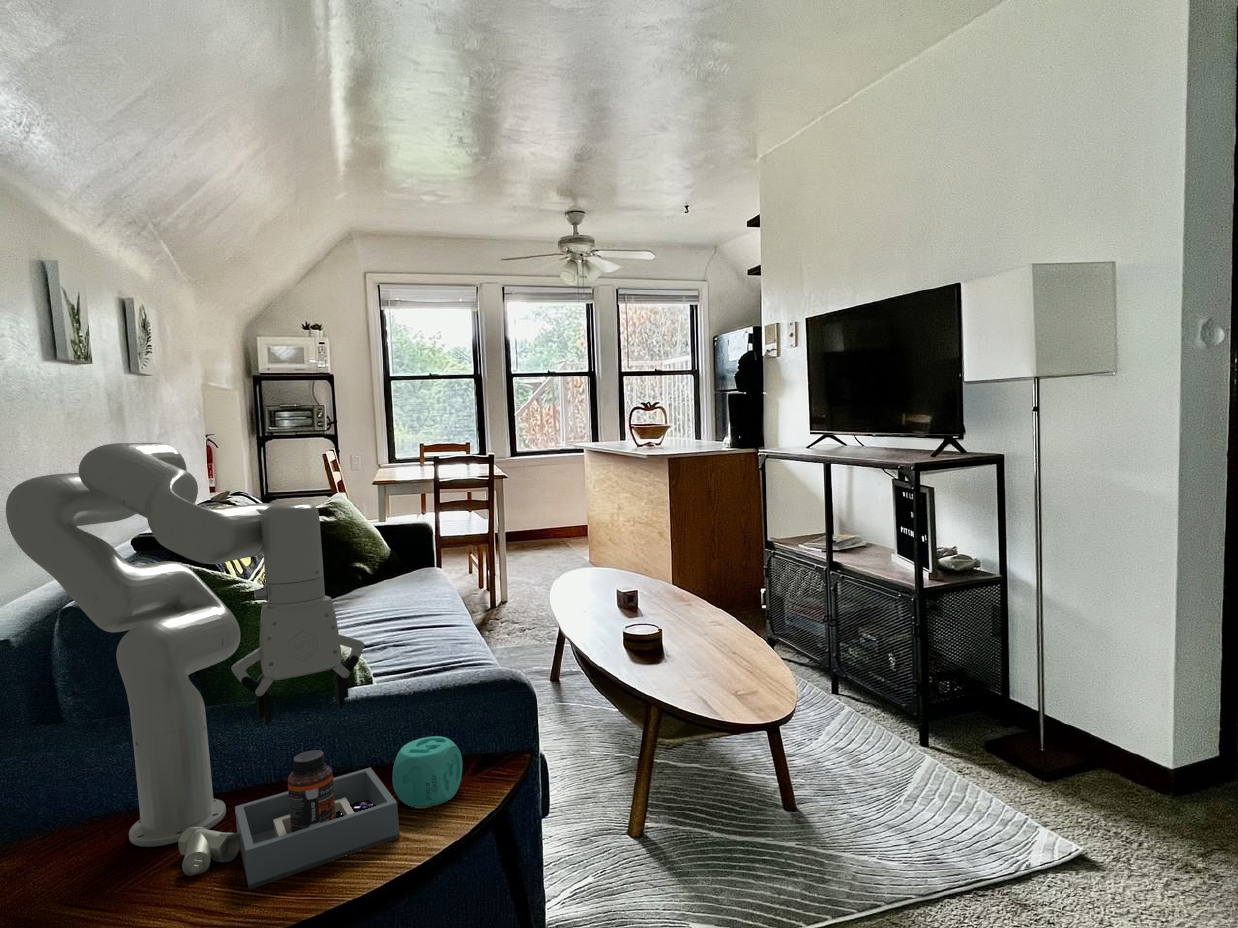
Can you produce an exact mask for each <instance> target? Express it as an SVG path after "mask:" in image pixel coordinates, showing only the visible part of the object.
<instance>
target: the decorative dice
mask: <svg viewBox="0 0 1238 928" xmlns="http://www.w3.org/2000/svg"><path fill="white" fill-rule="evenodd" d="M393 763H394V764H393V767H392V780H391V781H392V787H393V791H394V792H395V794H396V796H397V797H398V799H399V800H400V801H401V802H402V803H403V804H405V806H407V805H408V807H409V806H411V807H410V808H412V807H430V806H435V805H438V804H441V805H443V804H445V803H447V802H449V801H450V800H452V799H453V798H454V796H455V795H457V792H458V790H459V787H460V785H461V781H462V775H463V756H462V753H461V750H460V748H459V747H458V746H457V744H455V742H454V741H452V740H451V739H450V738H448V737H445V736H440V735H434V736H426V737H425V736H424V737H421V738H418V739H414V740H412V741H409V742H407V743H406V744H404V745H403V746H402V747H401V748H400V750H398V752H397V755H396V757H395V760H394V762H393ZM448 800H449V801H448ZM446 801H447V802H446ZM444 802H445V803H444ZM442 803H443V804H442ZM438 806H439V805H438ZM435 807H436V806H435ZM430 808H431V807H430Z"/></svg>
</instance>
